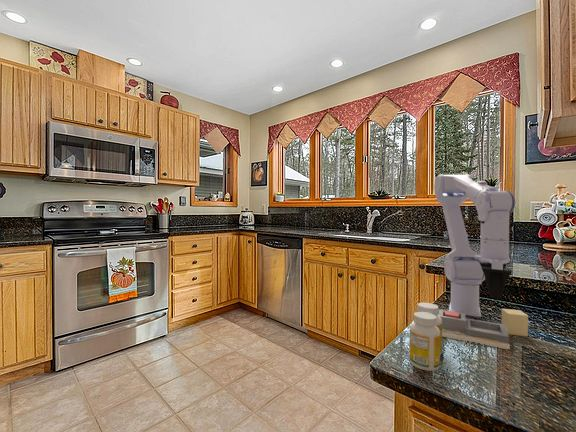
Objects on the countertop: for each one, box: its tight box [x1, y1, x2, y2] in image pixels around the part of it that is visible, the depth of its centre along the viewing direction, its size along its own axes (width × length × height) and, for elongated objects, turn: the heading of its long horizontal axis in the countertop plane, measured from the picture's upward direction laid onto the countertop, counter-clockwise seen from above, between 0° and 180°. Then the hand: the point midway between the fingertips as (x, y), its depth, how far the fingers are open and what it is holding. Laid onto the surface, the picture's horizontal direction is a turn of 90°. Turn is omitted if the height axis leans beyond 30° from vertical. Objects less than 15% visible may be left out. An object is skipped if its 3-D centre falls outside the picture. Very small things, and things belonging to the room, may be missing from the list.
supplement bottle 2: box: [409, 311, 441, 372], centre depth 55 cm, size 5×5×10 cm
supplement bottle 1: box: [417, 302, 443, 356], centre depth 60 cm, size 5×5×10 cm
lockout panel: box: [437, 308, 511, 350], centre depth 68 cm, size 10×14×4 cm
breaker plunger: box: [445, 310, 459, 318], centre depth 70 cm, size 3×3×3 cm
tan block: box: [501, 308, 529, 337], centre depth 70 cm, size 4×4×5 cm
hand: (493, 293), depth 70 cm, fingers open, 7 cm apart
